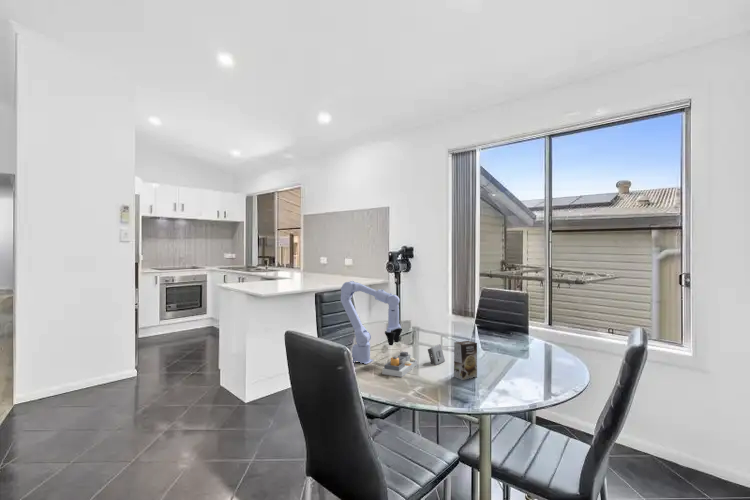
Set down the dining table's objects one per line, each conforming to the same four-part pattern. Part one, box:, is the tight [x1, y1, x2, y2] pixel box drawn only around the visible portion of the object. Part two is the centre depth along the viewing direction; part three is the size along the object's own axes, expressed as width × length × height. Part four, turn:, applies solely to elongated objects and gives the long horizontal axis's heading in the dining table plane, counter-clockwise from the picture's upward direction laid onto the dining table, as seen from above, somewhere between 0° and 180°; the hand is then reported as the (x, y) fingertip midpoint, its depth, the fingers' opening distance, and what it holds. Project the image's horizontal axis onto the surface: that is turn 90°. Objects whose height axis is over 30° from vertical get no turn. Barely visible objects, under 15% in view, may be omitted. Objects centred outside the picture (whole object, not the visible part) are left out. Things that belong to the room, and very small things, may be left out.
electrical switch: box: [427, 344, 446, 366], centre depth 196 cm, size 9×5×9 cm, turn 141°
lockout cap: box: [390, 356, 399, 366], centre depth 178 cm, size 4×4×5 cm
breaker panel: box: [381, 354, 418, 378], centre depth 184 cm, size 10×22×5 cm, turn 155°
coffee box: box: [453, 340, 478, 381], centre depth 172 cm, size 9×6×16 cm
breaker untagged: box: [399, 351, 409, 357], centre depth 191 cm, size 3×3×2 cm
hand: (393, 343), depth 194 cm, fingers open, 7 cm apart
